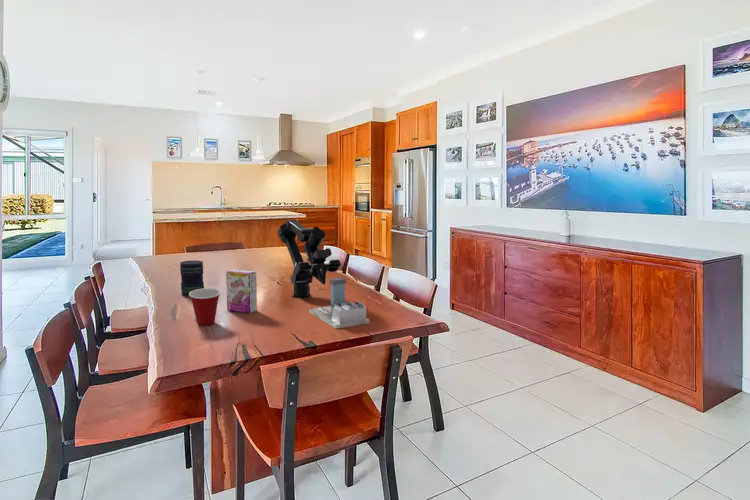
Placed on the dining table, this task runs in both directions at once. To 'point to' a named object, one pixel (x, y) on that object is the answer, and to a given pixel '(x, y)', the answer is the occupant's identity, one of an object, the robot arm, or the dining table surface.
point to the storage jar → (191, 276)
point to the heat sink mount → (342, 314)
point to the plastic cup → (205, 305)
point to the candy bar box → (241, 291)
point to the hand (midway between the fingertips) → (324, 283)
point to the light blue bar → (337, 290)
